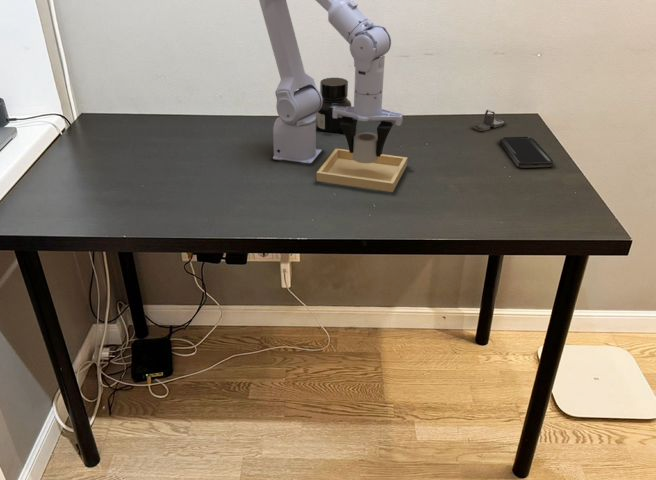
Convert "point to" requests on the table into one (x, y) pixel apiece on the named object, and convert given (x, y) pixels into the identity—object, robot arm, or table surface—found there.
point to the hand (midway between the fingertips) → (365, 153)
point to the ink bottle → (332, 104)
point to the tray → (362, 171)
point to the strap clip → (489, 122)
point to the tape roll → (365, 147)
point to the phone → (525, 152)
